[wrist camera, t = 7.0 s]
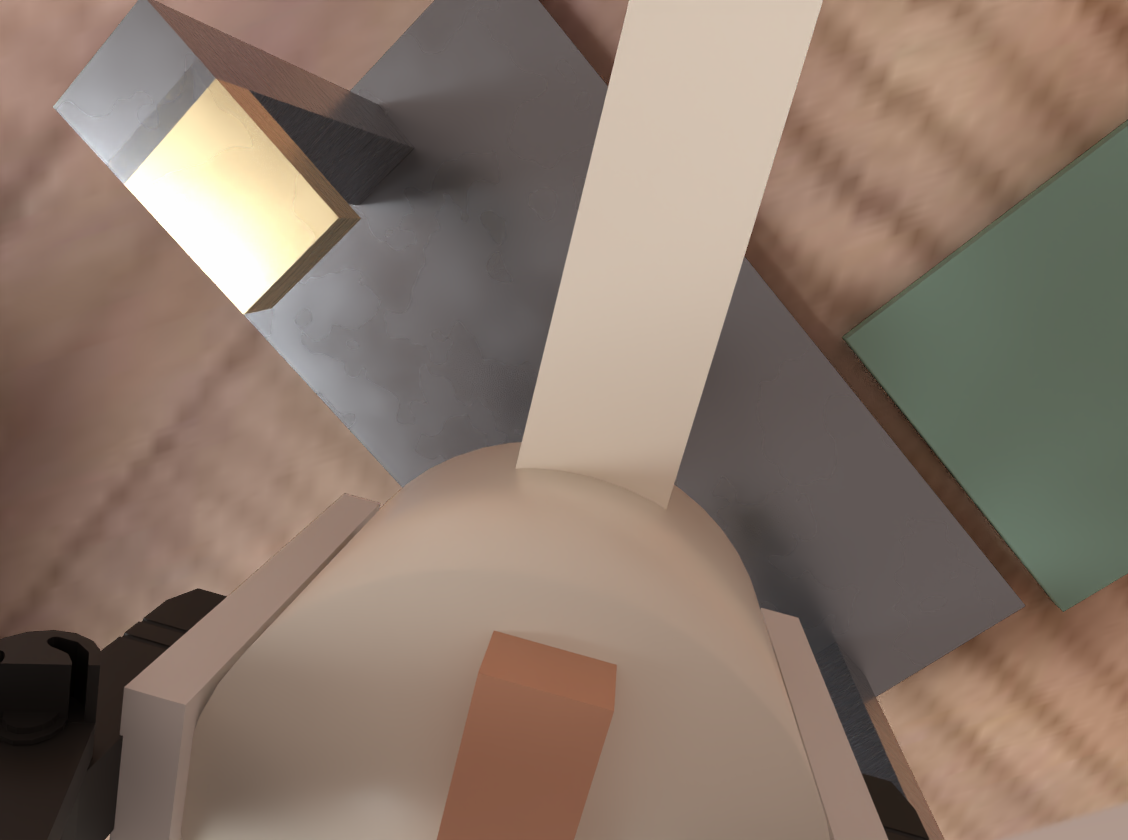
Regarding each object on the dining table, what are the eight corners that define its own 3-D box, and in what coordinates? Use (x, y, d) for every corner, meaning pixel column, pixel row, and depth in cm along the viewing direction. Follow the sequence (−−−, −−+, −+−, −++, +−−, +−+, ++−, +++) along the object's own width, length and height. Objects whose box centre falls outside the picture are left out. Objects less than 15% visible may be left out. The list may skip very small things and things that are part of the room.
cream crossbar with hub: (458, -53, 11) (265, -353, 5) (987, 76, 11) (1370, -96, 5) (265, 1007, 17) (76, 1395, 11) (602, 1109, 16) (582, 1559, 11)
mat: (842, 336, 28) (846, 339, 27) (1200, 64, 24) (1214, 60, 23) (1055, 604, 29) (1063, 611, 29) (1419, 384, 26) (1437, 388, 25)
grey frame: (210, 258, 30) (-147, 280, 16) (497, -47, 26) (332, -345, 12) (693, 786, 33) (721, 1156, 20) (1010, 591, 29) (1310, 890, 16)
